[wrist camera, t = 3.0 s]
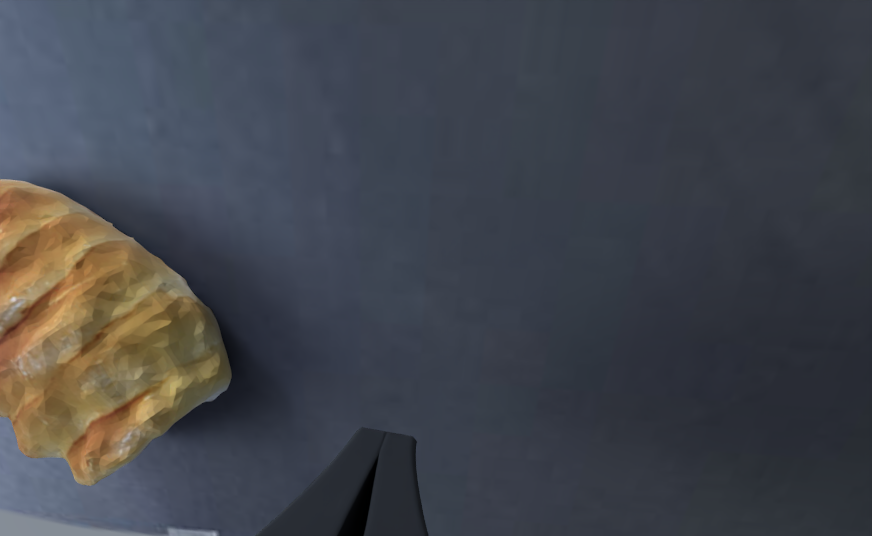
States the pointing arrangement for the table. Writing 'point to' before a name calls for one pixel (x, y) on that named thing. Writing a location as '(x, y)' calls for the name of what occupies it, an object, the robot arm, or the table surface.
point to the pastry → (94, 336)
